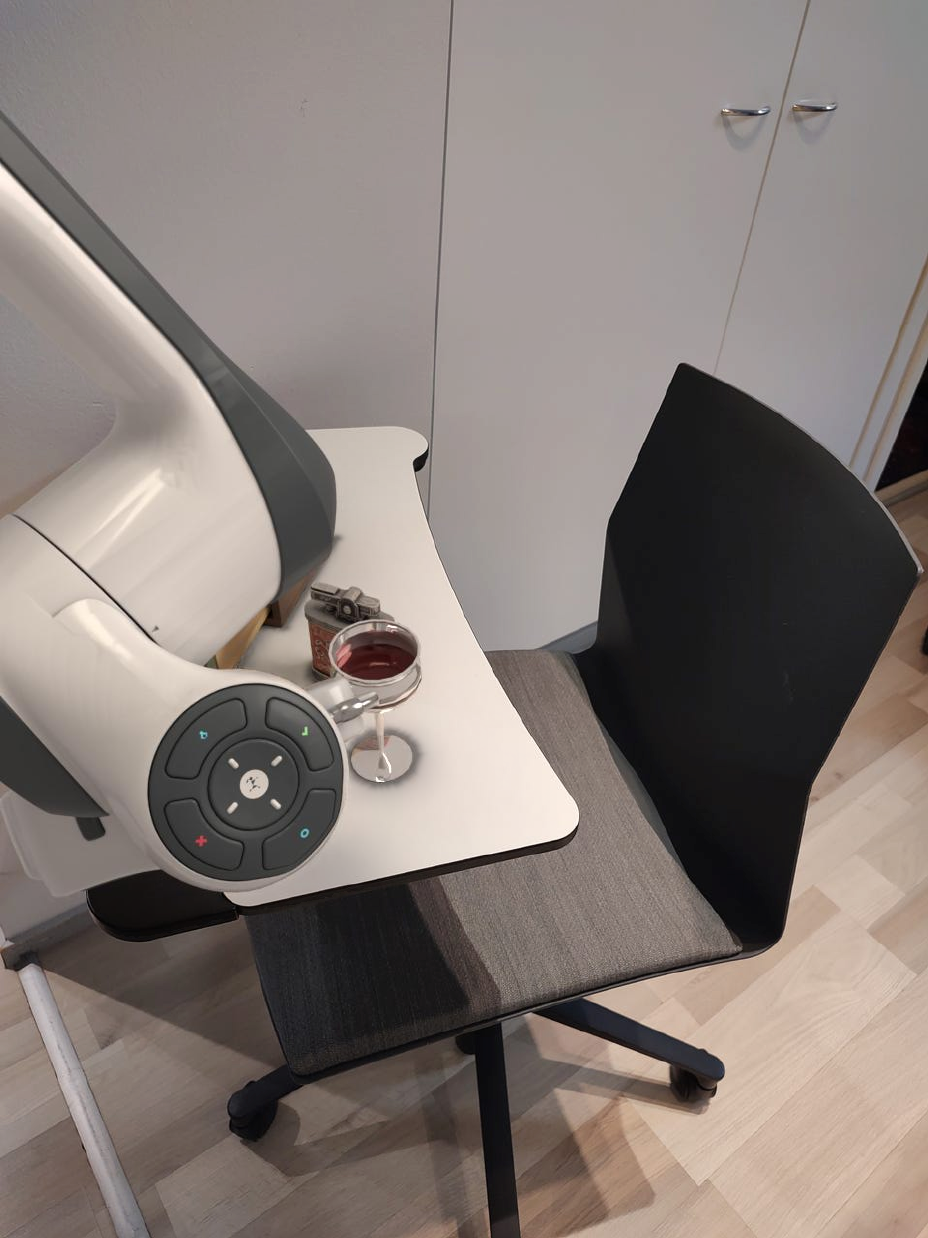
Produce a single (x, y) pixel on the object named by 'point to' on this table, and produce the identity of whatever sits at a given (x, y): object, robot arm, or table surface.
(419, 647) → the wineglass
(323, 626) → the lighter
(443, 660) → the table surface
